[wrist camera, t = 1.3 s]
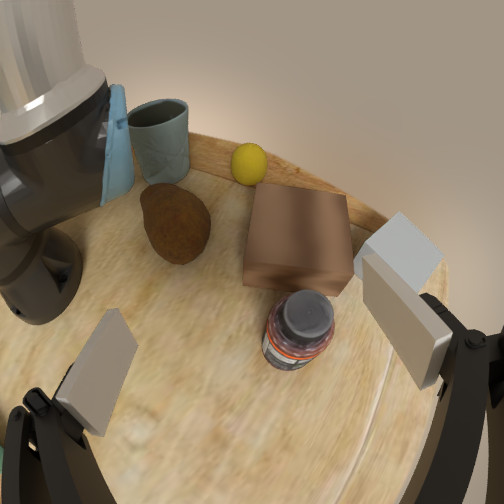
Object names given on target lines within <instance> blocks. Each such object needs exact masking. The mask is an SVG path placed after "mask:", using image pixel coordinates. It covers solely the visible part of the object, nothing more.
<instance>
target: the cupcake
mask: <svg viewBox="0 0 504 504" xmlns="http://www.w3.org/2000/svg"><path fill="white" fill-rule="evenodd" d="M3 452H4V449H3V448H2V446H1V445H0V474H1V473H2V463H3Z"/></svg>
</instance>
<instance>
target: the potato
mask: <svg viewBox="0 0 504 504" xmlns="http://www.w3.org/2000/svg"><path fill="white" fill-rule="evenodd" d="M140 202H141V206H142V210H143V217H144V227H145V230H146V232H147V235H148V237H149V240H150V242H151V244H152V247H153V248H154V249H155V251H156V252H157V253H158V254H159V255H160V256H161V257H163V258H164V259H165V260H167V261H169V262H171V263H173V264H181V265H184V264H186V263H188V262H190V261H192V260H194V259H195V258H196V257H197V256H198V255H200V254H201V253H202V252H203V250H204V248H205V246H206V244H207V241H208V239H209V234H210V226H211V220H210V214H209V212H208V211H207V209H206V207H205V205H204V204H203V202H202V201H201V200H200V199H198V198H197V197H196V196H195V195H193V194H192V193H190V192H188V191H186V190H183V189H181V188H179V187H178V186H176V185H173V184H170V183H156V184H153V185H151V186H148V187H147V188H146V189H145V190H144V191H143V192H142V193H141V196H140Z"/></svg>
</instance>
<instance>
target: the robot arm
mask: <svg viewBox="0 0 504 504" xmlns="http://www.w3.org/2000/svg"><path fill="white" fill-rule="evenodd" d="M0 110H1V118H0V294H1V296H2V297H3V299H4V300H5V302H6V304H7V305H8V307H9V308H10V310H11V311H12V312H13V313H14V314H15V315H16V316H17V317H19V318H20V319H22V320H23V321H25V322H26V323H28V324H32V325H42V324H45V323H48V322H50V321H52V320H53V319H55V318H56V317H57V316H59V315H60V314H61V313H62V312H63V311H64V310H65V309H66V307H67V306H68V305H69V303H70V302H71V300H72V299H73V297H74V295H75V293H76V291H77V288H78V285H79V282H80V279H81V273H82V259H81V255H80V252H79V250H78V248H77V246H76V245H75V244H74V242H73V241H72V240H71V238H70V237H69V236H68V235H67V234H65V233H64V232H62V231H60V230H59V229H57V228H55V227H54V225H56V224H59V223H61V222H63V221H65V220H68V219H70V218H72V217H75V216H77V215H80V214H82V213H84V212H87V211H89V210H92V209H94V208H97V207H102V206H104V205H105V203H107V202H109V201H111V200H113V199H116V198H118V197H120V196H123V195H125V194H126V193H127V192H128V191H129V190H130V189H131V188H132V186H133V184H134V180H135V173H134V164H133V157H132V149H131V142H130V134H129V127H128V119H127V109H126V98H125V91H124V87H123V86H122V85H115V84H112V85H110V87H108V85H107V81H106V77H105V73H104V71H103V70H101V69H99V68H96V67H94V66H91V65H89V64H86V62H85V61H84V56H83V52H82V47H81V42H80V38H79V32H78V27H77V21H76V14H75V8H74V1H73V0H0ZM362 269H363V302H364V303H365V305H366V306H367V308H368V309H369V311H370V312H371V314H372V315H373V317H374V318H375V320H376V321H377V323H378V324H379V326H380V327H381V329H382V330H383V332H384V333H385V335H386V336H387V338H388V339H389V341H390V343H391V344H392V346H393V347H394V349H395V350H396V352H397V354H398V355H399V357H400V358H401V360H402V362H403V363H404V365H405V367H406V368H407V370H408V371H409V373H410V375H411V376H412V378H413V380H414V382H415V383H416V385H417V387H418V388H419V390H420V391H421V390H423V389H425V388H427V387H429V386H431V385H433V384H435V383H436V381H437V378H438V376H439V374H440V375H441V377H442V378H443V380H444V381H443V383H442V385H441V388H440V390H439V392H438V394H437V396H439V399H438V403H437V407H436V411H435V414H434V418H433V421H432V425H431V428H430V431H429V434H428V437H427V440H426V443H425V446H424V449H423V451H422V454H421V457H420V459H419V462H418V464H417V467H416V469H415V471H414V474H413V476H412V478H411V481H410V483H409V485H408V487H407V489H406V491H405V493H404V495H403V497H402V499H401V501H400V503H399V504H462V502H463V499H464V497H465V494H466V491H467V488H468V485H469V482H470V479H471V476H472V472H473V469H474V465H475V461H476V458H477V454H478V450H479V445H480V440H481V435H482V430H483V424H484V418H485V411H486V412H487V422H488V443H489V464H488V466H489V467H488V484H487V494H486V503H485V504H504V326H503V329H502V331H501V333H499V334H494V335H490V336H486V335H485V334H484V333H482V332H480V331H478V330H475V329H473V330H467V329H466V328H465V327H464V326H463V325H462V323H461V322H460V321H459V320H458V319H457V318H456V317H455V316H454V315H453V314H452V313H451V312H450V311H448V309H447V308H446V307H445V306H444V305H442V303H441V302H440V301H439V300H438V299H437V298H436V297H434V296H432V295H430V294H428V293H423V294H421V295H418V294H417V293H416V292H415V291H414V290H413V289H412V288H411V287H410V286H409V285H408V284H407V283H406V282H405V281H404V280H403V279H402V278H401V277H400V276H399V275H398V274H397V273H396V272H395V271H394V270H393V269H392V268H391V267H390V266H389V265H387V264H386V263H385V262H384V261H383V260H382V259H381V258H380V257H379V256H378V255H377V254H376V253H373V254H369V255H365V256H362ZM137 348H138V344H137V342H136V340H135V339H134V337H133V335H132V333H131V331H130V330H129V328H128V326H127V324H126V322H125V320H124V318H123V316H122V314H121V313H120V311H119V309H118V308H115V309H109V310H107V311H106V313H105V314H104V316H103V317H102V319H101V321H100V322H99V324H98V325H97V327H96V328H95V330H94V331H93V333H92V335H91V336H90V338H89V339H88V341H87V342H86V344H85V346H84V347H83V349H82V351H81V352H80V354H79V356H78V357H77V359H76V361H75V362H74V363H73V364H72V365H71V366H70V367H69V369H68V371H67V372H66V375H65V376H64V378H63V379H62V380H63V381H61V383H60V385H59V386H58V388H57V390H56V392H55V394H54V396H53V398H52V399H51V400H50V399H49V398H48V397H47V396H46V394H45V393H44V392H43V391H42V390H41V389H40V388H39V387H35V388H33V389H31V390H29V391H28V392H27V393H26V395H25V396H24V398H23V404H24V405H25V406H26V407H27V408H28V410H29V411H30V412H28V411H27V410H26V409H25V408H24V407H23V406H17V407H15V408H14V409H12V411H11V413H10V415H9V419H8V424H7V430H6V436H5V444H4V452H3V463H2V483H1V498H2V504H117V503H116V501H115V499H114V497H113V496H112V494H111V492H110V490H109V488H108V486H107V484H106V482H105V480H104V478H103V476H102V473H101V471H100V469H99V467H98V465H97V462H96V460H95V458H94V455H93V453H92V450H91V448H90V445H89V442H88V440H87V437H86V436H85V435H84V434H83V433H82V432H83V430H84V428H85V429H86V430H87V431H88V432H89V433H90V434H91V435H95V436H101V437H104V435H105V432H106V429H107V426H108V423H109V421H110V418H111V415H112V412H113V409H114V406H115V404H116V401H117V398H118V396H119V393H120V390H121V388H122V385H123V382H124V380H125V377H126V375H127V372H128V370H129V367H130V365H131V362H132V360H133V357H134V355H135V353H136V350H137ZM29 442H30V443H31V444H33V445H34V446H35V447H36V450H35V451H34V450H33V449H31V448H30V447H29Z"/></svg>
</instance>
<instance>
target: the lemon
mask: <svg viewBox="0 0 504 504" xmlns="http://www.w3.org/2000/svg"><path fill="white" fill-rule="evenodd" d="M231 171H232V174H233V176H234V178H235V179H236V180H237V181H238V182H239V183H241V184H243V185H247V186H251V185H255V184H257V182H258V183H259V182H260V181H261V180H262V179H263V178H264V176H265V174H266V171H267V157H266V154H265V152H264V150H263V149H262V148H261V147H260V146H258V145H257V144H253V143H245V144H242V145H240V146H239V147H238V148H237V149H236V150H235V151H234V153H233V156H232V159H231Z"/></svg>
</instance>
